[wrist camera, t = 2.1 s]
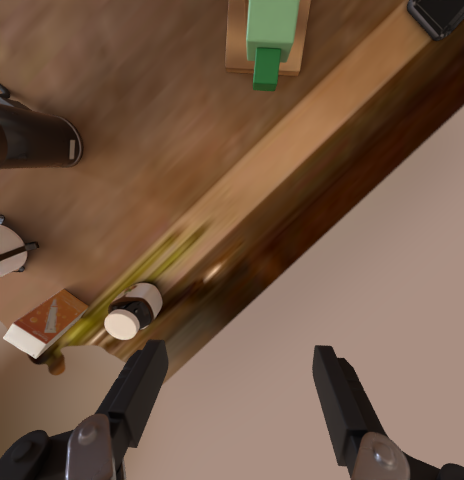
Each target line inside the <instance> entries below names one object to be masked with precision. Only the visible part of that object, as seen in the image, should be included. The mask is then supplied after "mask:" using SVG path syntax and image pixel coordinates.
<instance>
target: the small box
mask: <svg viewBox="0 0 464 480" xmlns="http://www.w3.org/2000/svg"><path fill="white" fill-rule="evenodd" d="M88 307H89V306H88V305H86V304H85V303H83V302H82V301H80V300H79V299H77V298H76V297H74V296H73V295H72V294H70V293H69V292H67V291H66V290H65V289H63V290H61V291H60V292H58V293H57V294H55V295H54V296H52V297H51V298H49V299H48V300H46V301H45V302H43V303H42V304H40V305H39V306H37V307H36V308H34V309H33V310H31V311H30V312H28V313H27V314H25V315H24V316H22V317H21V318H19V319H18V320H17V321H15V322H14V323H13V324H12V325H11V327H10V328H9V330H8V331H7V333H6V335H5V336H4V337H3V339H4V340H6V341H8V342H10V343H11V344H13V345H14V346H16V347H17V348H18V349H20V350H22V351H24V352H26V353H27V354H29V355H31V356H32V357H34V358H35V359H36V358H37V357H39V356H40V355H41V354H42V353H43V352H44V351H45V350H46V349H47V348H48V347H49V346H51V345H52V344H53V343H54V342H55V341H56V340H57V339H58V338H59V337H60V336H62V335H63V334H64V333H65V332H66V331H67V330H68V329H69V328H70V327H71V326H72V325H74V324H75V323H76V322H77V321H78V320H79V319H80V318H81V316H82V315H83V314H84V312H85V311H86V310H87V309H88Z"/></svg>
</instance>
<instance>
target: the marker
mask: <svg viewBox="0 0 464 480" xmlns="http://www.w3.org/2000/svg"><path fill="white" fill-rule="evenodd" d="M299 2H300V0H249V7H248V20H247V34H246V48H247V60H248V61H255V66H254V77H253V90H260V91H275V88H276V85H277V81H278V73H279V65H280V62H282V63H285V62H287V60H288V57H289V54H290V51H291V48H292V46H293V43H294V38H295V30H296V23H297V16H298V9H299Z"/></svg>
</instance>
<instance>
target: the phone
mask: <svg viewBox="0 0 464 480" xmlns="http://www.w3.org/2000/svg"><path fill="white" fill-rule="evenodd" d="M407 9H408V12H409V13H410V14H411V15H412V17H413V18H414V19H415V20H416V21H417V22H418V23H419V24H420V25H421V27H422V28H423V29H424V30H425V31H426V32H427V33H428V34H429V35H430V37H431V38H432V39H433V40H435V41H439V40H441V39H443V38H445V37H446V36H448V35H449V34H450V33H451V32H452V31H453V30H454V29H455V28H456V27H457V26H458V25H459V23H460V22H461V21H462V20H463V19H464V0H409V2H408V5H407Z"/></svg>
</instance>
